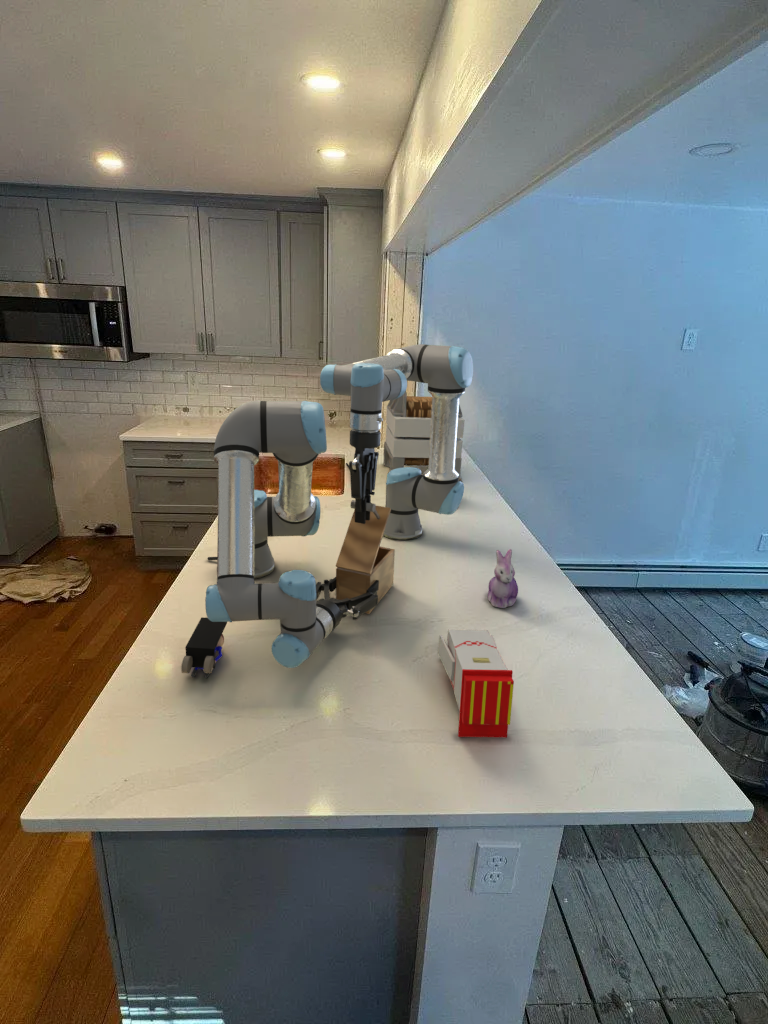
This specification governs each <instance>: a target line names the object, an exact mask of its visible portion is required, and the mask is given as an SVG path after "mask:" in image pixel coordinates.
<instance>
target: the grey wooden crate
mask: <svg viewBox="0 0 768 1024" xmlns="http://www.w3.org/2000/svg"><path fill="white" fill-rule="evenodd" d="M407 394H408V393H407V390H406V391H405V393H404V394H403V395H402V396H401V397H399V398H397V399H394V400H389V402H388V404H387V405H386V413H385V414H386V415H385V423H386V428H385V438H384V442H383V466H384V467H388V468H389V472H390V471H391V470H393V469H397V468H405V466H406V467H410V466H411V467H417V466H418V467H429V448H430V429H431V410H432V396H415V395H414V396H413V395H412V396H411V395H407ZM464 429H465V419H464V418H463V411H462V408H461V405H460V404H459V413H458V427H457V442H456V456H455V471H456V472H457V473H458V474H459V478H461V472H462V461H463V460H462V453H463V442H464V441H463V440H462V439H463V438H464V431H465V430H464Z"/></svg>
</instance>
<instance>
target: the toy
mask: <svg viewBox="0 0 768 1024" xmlns="http://www.w3.org/2000/svg"><path fill="white" fill-rule="evenodd" d="M446 640H447V643H446V641H445V639H444V636H443V635H442V634H439V637H438V646H437V656H438V657H439V659H440V661H441V663H442V666H443V668H444V670H445V672H446V674H447V677H448V679H449V681H450V684H451V687H452V690H453V693H454V697H455V701H456V705H457V708H458V711H459V714H458V715H459V716H458V730H457V731H458V732H457V737H458V738H508V731H509V726H510V725H511V717H512V707H513V697H514V696H513V695H514V684H515V680H514V679H513V673H514V671H513V670H512V669H508V667H507V665H506V662H505V661H504V659H503V658H502V655H501V653H500V651H499V649H498V647H497V643H496V639H495V637H494V635H493V634H491V632H490V631H489V629H467V628H466V629H465V628H463V629H461V628H460V629H459V628H448V630H447V639H446Z"/></svg>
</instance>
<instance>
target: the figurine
mask: <svg viewBox="0 0 768 1024" xmlns="http://www.w3.org/2000/svg"><path fill="white" fill-rule="evenodd" d="M495 555H496V566H495V567H494V573H493V574H494V576H493V577H492V578H491V579H490V580H489V582H488V591H487V600H488V601H489V603H490V605H491V606H492V607H495V608H500V609H506V608H507V607H511V606H513V605H514V604H515V603H516V601H517V597H518V595H519V585H518V583H517V579H515V575H516V571H515V567H514V565H513V564H512V558H513V557H512V556H513V550H512V548H509V549H508V550H507V551H506V553H505V555H504V556H503V554H502V551H500V550H499V549H497V550H496V551H495Z"/></svg>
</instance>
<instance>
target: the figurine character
mask: <svg viewBox="0 0 768 1024" xmlns="http://www.w3.org/2000/svg"><path fill="white" fill-rule="evenodd" d="M227 624H228V622H211V621H210V620H209V619H208V618H207V617H203V616H202V617H200V619H199V621H198V623H197V625H196V626H195V628H194V630H193V632H192V634H191V636H190V638H189V639H188V642H187V643H186V645H185V647H184V648H185V655H184V656H183V658H182V662H181V666H180V667H181V668H180V670H181V673H182V674H190V673H191V678H195V677H196V675H197V672H198V670H203V673H204V674H205V675H204V677H205V679H207V678H208V677H209V675H210V674H212V673H213V670H215V669H216V663H217V662H218V661H219V660H220V659H221V658H223V652H222V650H223V645H224V644H225V635H224V634H223V633H224V630H225V628H226V626H227ZM216 652H218V655H216ZM192 668H193V670H192ZM191 670H192V672H191Z"/></svg>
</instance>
